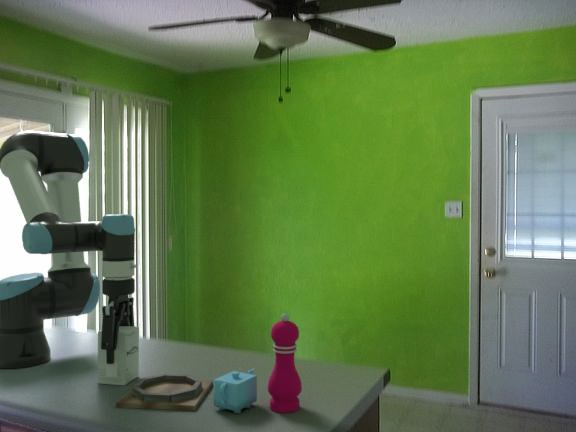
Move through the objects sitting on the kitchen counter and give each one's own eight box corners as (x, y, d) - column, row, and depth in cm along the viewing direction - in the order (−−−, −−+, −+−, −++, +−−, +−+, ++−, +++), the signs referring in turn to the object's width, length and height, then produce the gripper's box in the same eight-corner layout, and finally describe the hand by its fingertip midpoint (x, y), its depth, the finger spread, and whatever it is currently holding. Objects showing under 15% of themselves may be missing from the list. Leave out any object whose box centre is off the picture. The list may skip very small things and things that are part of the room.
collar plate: (115, 407, 117) (115, 395, 117) (144, 381, 134) (143, 371, 134) (194, 410, 115) (194, 398, 115) (213, 384, 132) (213, 373, 132)
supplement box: (125, 386, 131) (125, 332, 130) (96, 383, 132) (96, 331, 132) (139, 376, 138) (139, 326, 138) (112, 374, 139) (112, 324, 139)
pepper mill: (266, 402, 121) (267, 310, 120) (299, 401, 121) (300, 310, 121) (268, 414, 113) (268, 317, 113) (303, 413, 114) (304, 316, 113)
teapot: (242, 395, 125) (242, 362, 125) (265, 400, 122) (265, 366, 122) (208, 412, 115) (209, 376, 114) (232, 418, 111) (232, 381, 111)
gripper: (116, 284, 124) (117, 385, 124) (148, 272, 144) (148, 359, 145) (84, 283, 125) (84, 384, 125) (120, 272, 145) (120, 359, 145)
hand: (118, 371), depth 135 cm, fingers closed on supplement box, 8 cm apart
